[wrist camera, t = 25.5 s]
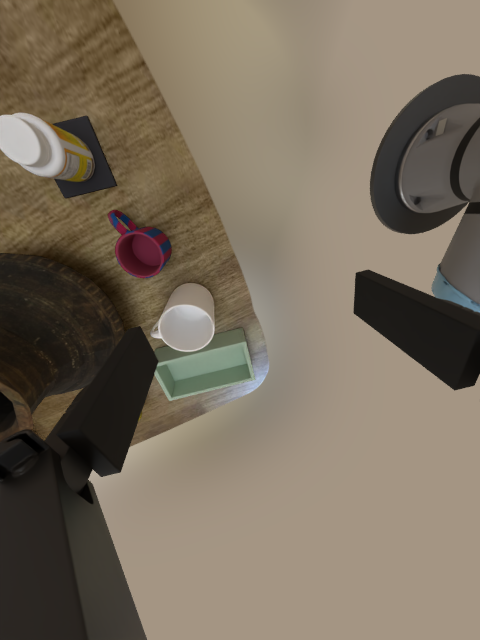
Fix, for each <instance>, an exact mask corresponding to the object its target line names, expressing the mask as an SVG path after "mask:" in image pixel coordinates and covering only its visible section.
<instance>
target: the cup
mask: <svg viewBox="0 0 480 640" xmlns="http://www.w3.org/2000/svg"><path fill="white" fill-rule="evenodd" d="M116 217H118V218H119V219H120V220H122V221H123V222H124V223H125V224H126V225H127V226H128V228H129V229H130V230H131V231H128V230H127V229H126V228H125V227H124V226H123V225H122V224H121V223H120V222H119V221H118V219H117V218H116ZM108 218H109V221H110V222H111V224H112V225H113V226H114V227H115V229H116V230H117V231H118V232H119V233H120V234H121V235H122V236H121V237H120V238H119V239H118V241H117V243H116V247H115V254H116V258H117V261H118V262H119V264H120V265H121V267H122V268H123V269H124V270H125V271H126V272H128V273H129V274H131V275H133V276H135V277H139V278H150V277H153V276H155V275H156V274H158V273H159V272H160V270H161V269H162V268H163V267H164V265H165V264H166V263H167V262H168V260H169V259H170V256H171V251H172V250H171V244H170V241H169V240H168V238H167V237H166V235H165V234H164V233H163V232H161V231H160V230H158V229H156V228H153V227H143V228H137V226H136V225H135V224H134V223H133V222H132V221H131V220H130V219H129V218H128V217H127V216H126V215H125V214H123V213H122V212H120V211H118V210H112V211H110V212H109V213H108Z"/></svg>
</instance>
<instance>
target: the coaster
mask: <svg viewBox="0 0 480 640" xmlns="http://www.w3.org/2000/svg"><path fill="white" fill-rule="evenodd" d="M52 125H54V126H56V127H58V128H60V129H62V130H64V131H66V132H69V133H71V134H73V135H75V136H76V137H78V138H79V139H81V140H82V141H83V142H84V143H85V144H86V146H87V147H88V148H89V150H90V151H91V153H92V156H93V159H94V164H95V168H94V173H93V175H92V176H91V178H90V179H88V180H87V181H84V182H74V181H68V180H61V179H55V178H54V179H55V181H56V183H57V185H58V187H59V188H60V190H61V192H62V194H63V196H64V198H69V197H73V196H77V195H81V194H85V193H90V192H94V191H98V190H102V189H106V188H110V187H114V186H117V184H116V182H115V179H114V177H113V175H112V172H111V170H110V168H109V165H108V163H107V161H106V158H105V156H104V154H103V151H102V149H101V147H100V144H99V142H98V139H97V137H96V135H95V132H94V130H93V128H92V125H91V123H90V121H89V118H88V116H83V117H79V118H75V119H71V120H67V121H63V122H59V123H55V124H52Z"/></svg>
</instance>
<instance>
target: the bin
mask: <svg viewBox="0 0 480 640" xmlns="http://www.w3.org/2000/svg"><path fill="white" fill-rule="evenodd" d="M154 353H155V355H156V357H157V359H158V361H159V362H158V365H157V368H156V371H155V373H154V374H155V376H156V378H157V380H158V382H159V383H160V385H161V387H162V389H163V391H164V392H165V394H166V396H167V398H168V400H169V401H171V400H175V399H179V398H183V397H187V396H191V395H195V394H199V393H203V392H207V391H212V390H216V389H220V388H224V387H228V386H232V385H236V384H240V383H244V382H248V381H252V380H255V376H254V372H253V368H252V364H251V360H250V356H249V352H248V348H247V344H246V340H245V336H244V332H243V328H239V329H234V330H230V331H226V332H222V333H218V334H214V335H213V338H212V340H211V341H210V342H209V343H208V344H207V345H206V346H205V347H203V348H202V349H200V350H197V351H192V352H184V351H179V350H176V349H173V348H171V347H170V346H166V347H162V348H158V349H156V350H155V352H154Z"/></svg>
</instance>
